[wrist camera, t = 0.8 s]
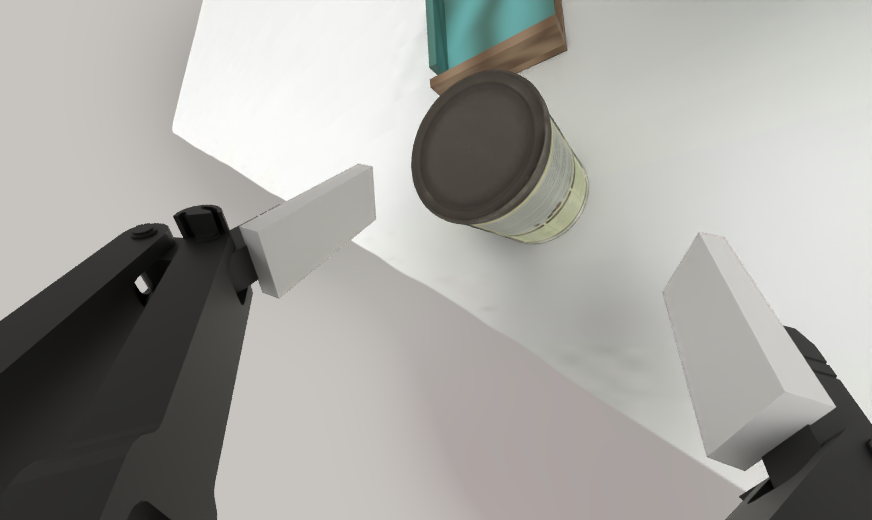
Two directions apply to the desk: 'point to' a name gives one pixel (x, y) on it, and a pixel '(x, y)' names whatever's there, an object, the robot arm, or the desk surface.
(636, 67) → the desk surface
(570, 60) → the desk surface
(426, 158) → the coffee can
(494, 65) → the slot rack
